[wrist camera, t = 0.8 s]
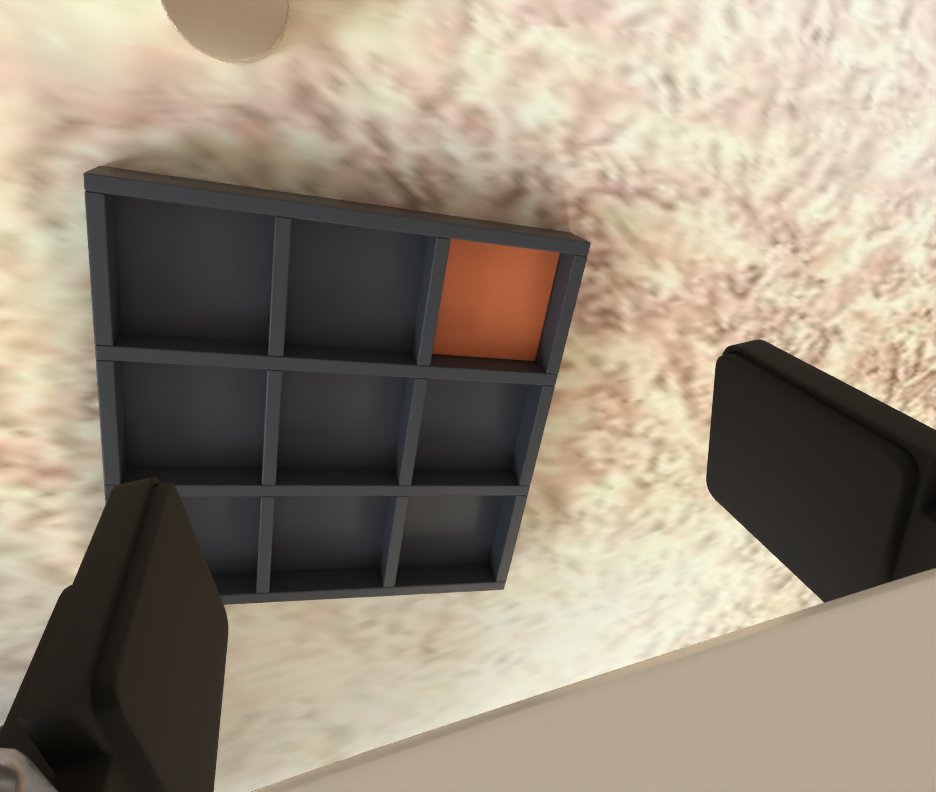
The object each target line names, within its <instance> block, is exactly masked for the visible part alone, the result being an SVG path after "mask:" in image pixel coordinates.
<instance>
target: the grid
mask: <svg viewBox="0 0 936 792" xmlns="http://www.w3.org/2000/svg"><path fill="white" fill-rule="evenodd" d="M84 188H85V205H86V219H87V234H88V249H89V264H90V279H91V294H92V309H93V324H94V339H95V344H96V345H95V353H96V359H97V360H96V369H97V384H98V399H99V414H100V428H101V443H102V458H103V473H104V484H105V485H104V489H105V504H106V503H107V501H108V498H109V496H110V493H111V491H112V489H113V488H114V486H117V485H121V484H126V483H130V482H135V481H139V480H143V479H148V478H152V477H156V478H158V479H159V481H160V482H161V483H162V485H163V484H168V483H172V484H174V486H175V487H176V489H177V491H178V493H179V496H180V498H181V501H182V503H183V506H184V508H185V511H186V513H187V516H188V518H189V521H190V523H191V526H192V528H193V531H194V533H195V536H196V538H197V541H198V543H199V546H200V548H201V551H202V553H203V555H204V558H205V560H206V563H207V565H208V568H209V570H210V573H211V575H212V578H213V580H214V583H215V585H216V588H217V590H218V593H219V595H220V598H221V600H222V603H223V605H226V604H244V603H263V602H281V601H300V600H319V599H337V598H356V597H374V596H393V595H412V594H430V593H449V592H468V591H486V590H503V589H504V586H505V582H506V579H507V575H508V571H509V567H510V563H511V559H512V555H513V551H514V547H515V543H516V539H517V535H518V531H519V527H520V523H521V519H522V515H523V511H524V507H525V503H526V499H527V495H528V491H529V487H530V483H531V479H532V475H533V471H534V467H535V463H536V459H537V455H538V451H539V447H540V443H541V439H542V435H543V431H544V427H545V423H546V419H547V415H548V411H549V407H550V403H551V399H552V395H553V391H554V385H555V383H556V379H557V374H558V372H559V368H560V364H561V360H562V356H563V352H564V348H565V344H566V340H567V336H568V332H569V328H570V324H571V320H572V316H573V312H574V308H575V304H576V300H577V296H578V292H579V288H580V284H581V280H582V276H583V272H584V268H585V264H586V260H587V255H588V252H589V248H590V242H588V241H586V240H584V239H582V238H580V237H578V236H576V235H574V234H572V233H569V232H562V231H555V230H548V229H541V228H534V227H527V226H520V225H513V224H505V223H498V222H491V221H484V220H477V219H470V218H463V217H456V216H449V215H442V214H435V213H428V212H421V211H414V210H407V209H400V208H393V207H385V206H378V205H371V204H364V203H357V202H350V201H343V200H336V199H329V198H322V197H315V196H308V195H301V194H294V193H287V192H280V191H272V190H265V189H258V188H251V187H244V186H237V185H230V184H223V183H216V182H209V181H202V180H195V179H188V178H181V177H174V176H167V175H160V174H152V173H145V172H138V171H131V170H124V169H117V168H110V167H103V166H98V167H96V168H94V169H92V170H89V171H87V172H85V173H84Z"/></svg>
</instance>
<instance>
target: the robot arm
mask: <svg viewBox="0 0 936 792" xmlns="http://www.w3.org/2000/svg"><path fill="white" fill-rule="evenodd" d="M706 482H707V487H708V489H709V492H710V493H711V495H712V496H713V498H714V499H715V500H716V501H717V502H718V503H719V504H720V505H722V506H723V507H724V508H725V509H726V510H727V511H728V512H729V513H730V514H731V515H732V516H733V517H734V518H735V519H736V520H737V521H738V522H740V523H741V524H742V525H743V526H744V527H745V528H746V529H747V530H748V531H749V532H750V533H751V534H752V535H753V536H754V537H755V538H756V539H758V540H759V541H760V542H761V543H762V544H763V545H764V546H765V547H766V548H767V549H768V550H769V551H770V552H771V553H772V554H773V555H774V556H776V557H777V558H778V559H779V560H780V561H781V562H782V563H783V564H784V565H785V566H786V567H787V568H788V569H789V570H790V571H791V572H792V573H794V574H795V575H796V576H797V577H798V578H799V579H800V580H801V581H802V582H803V583H804V584H805V585H806V586H807V587H808V588H809V589H810V590H812V591H813V592H814V593H815V594H816V595H817V596H818V597H819V598H820V599H821V600H822V601H823V602H824V603H822V604H819V605H816V606H813V607H810V608H807V609H803V610H800V611H797V612H794V613H791V614H788V615H784V616H781V617H778V618H775V619H772V620H769V621H765V622H762V623H759V624H756V625H753V626H750V627H747V628H744V629H741V630H737V631H734V632H731V633H728V634H725V635H722V636H719V637H716V638H713V639H709V640H706V641H703V642H700V643H697V644H694V645H691V646H688V647H685V648H681V649H678V650H675V651H672V652H669V653H666V654H663V655H660V656H657V657H654V658H651V659H647V660H644V661H641V662H638V663H635V664H632V665H629V666H626V667H623V668H620V669H617V670H613V671H610V672H607V673H604V674H601V675H598V676H595V677H592V678H589V679H586V680H583V681H580V682H576V683H573V684H570V685H567V686H564V687H561V688H558V689H555V690H552V691H549V692H546V693H543V694H540V695H537V696H534V697H531V698H528V699H525V700H522V701H519V702H515V703H512V704H509V705H506V706H503V707H500V708H497V709H494V710H491V711H488V712H485V713H482V714H479V715H476V716H473V717H470V718H467V719H464V720H461V721H458V722H455V723H452V724H449V725H446V726H443V727H440V728H437V729H434V730H430V731H427V732H424V733H421V734H418V735H415V736H412V737H409V738H406V739H403V740H400V741H397V742H394V743H391V744H388V745H385V746H382V747H379V748H376V749H373V750H370V751H367V752H364V753H361V754H358V755H355V756H352V757H350V758H347V759H344V760H341V761H338V762H335V763H332V764H329V765H326V766H324V767H321V768H318V769H315V770H312V771H309V772H306V773H303V774H301V775H298V776H295V777H292V778H289V779H286V780H283V781H280V782H278V783H275V784H272V785H269V786H266V787H263V788H260V789H257V790H254V791H252V792H936V430H934V429H933V428H931V427H929V426H927V425H925V424H923V423H921V422H919V421H917V420H915V419H913V418H911V417H910V416H908V415H906V414H904V413H902V412H900V411H898V410H896V409H894V408H892V407H890V406H888V405H887V404H885V403H883V402H881V401H879V400H877V399H875V398H873V397H871V396H869V395H867V394H865V393H864V392H862V391H860V390H858V389H856V388H854V387H852V386H850V385H848V384H846V383H844V382H842V381H841V380H839V379H837V378H835V377H833V376H831V375H829V374H827V373H825V372H823V371H821V370H819V369H817V368H816V367H814V366H812V365H810V364H808V363H806V362H804V361H802V360H800V359H798V358H796V357H794V356H793V355H791V354H789V353H787V352H785V351H783V350H781V349H779V348H777V347H775V346H773V345H771V344H770V343H768V342H766V341H763V340H760V339H759V340H753V341H749V342H745V343H740V344H736V345H731V346H728V347H727V348H726V349H725V351H724V352H723V355H722V356H720V357H719V358H718V360H717V362H716V368H715V380H714V392H713V404H712V416H711V428H710V440H709V452H708V463H707V475H706ZM227 642H228V620H227V615H226V611H225V608H224V605H223V603H222V600H221V598H220V595H219V593H218V590H217V588H216V585H215V583H214V580H213V578H212V575H211V573H210V570H209V568H208V565H207V563H206V560H205V558H204V555H203V553H202V551H201V548H200V546H199V543H198V541H197V538H196V536H195V533H194V531H193V528H192V526H191V523H190V521H189V518H188V516H187V513H186V511H185V508H184V506H183V503H182V501H181V498H180V496H179V493H178V491H177V489H176V487H175V486H174V484H172V483H168V484H163V485H162V483H161V482H160V481H159V479H158V478H156V477H152V478H148V479H143V480H139V481H135V482H130V483H126V484H121V485H117V486H114V488H113V489H112V491H111V493H110V496H109V498H108V501H107V503H106V505H105V508H104V510H103V513H102V515H101V517H100V520H99V522H98V525H97V527H96V529H95V532H94V534H93V537H92V539H91V541H90V544H89V546H88V549H87V551H86V553H85V556H84V558H83V561H82V563H81V565H80V568H79V570H78V573H77V575H76V577H75V580H74V582H73V585H70V586H69V587H67V588H66V589H64V590H63V592H62V593H61V595H60V597H59V598H58V601H57V603H56V605H55V608H54V610H53V612H52V615H51V617H50V619H49V622H48V624H47V626H46V628H45V631H44V633H43V635H42V638H41V640H40V642H39V645H38V647H37V649H36V652H35V654H34V656H33V659H32V661H31V663H30V665H29V668H28V670H27V672H26V675H25V677H24V679H23V682H22V684H21V686H20V689H19V691H18V693H17V695H16V698H15V700H14V702H13V705H12V707H11V709H10V712H9V714H8V716H7V719H6V721H5V723H4V726H3V728H2V730H1V732H0V792H213V791H214V781H215V770H216V759H217V749H218V738H219V727H220V717H221V706H222V695H223V685H224V674H225V663H226V653H227Z"/></svg>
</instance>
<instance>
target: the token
mask: <svg viewBox="0 0 936 792" xmlns="http://www.w3.org/2000/svg"><path fill="white" fill-rule="evenodd" d="M161 2H162V5H163V7H164V10H165V12H166V14H167V16H168V18H169V19H170V21H171V23H172V24H173V26H174V27H175V28H176V30H177V31H178V32H179V33H180V35H181V36H182V37H183V38H184V39H185V40H186V41H187V42H189V43H190V44H191V45H192V46H193V47H195V48H196V49H198V50H199V51H201V52H203V53H204V54H206V55H208V56H211V57H213V58H215V59H218V60H220V61H223V62H227V63H233V64H246V63H251V62H255V61H258V60H260V59H262V58H264V57H265V56H267V55H268V54H269V53H270V52H271V51H272V50H274V48H275V47H276V46H277V45H278V43H279V42H280V40H281V38H282V36H283V33H284V31H285V27H286V23H287V16H288V7H289V0H161Z"/></svg>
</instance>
